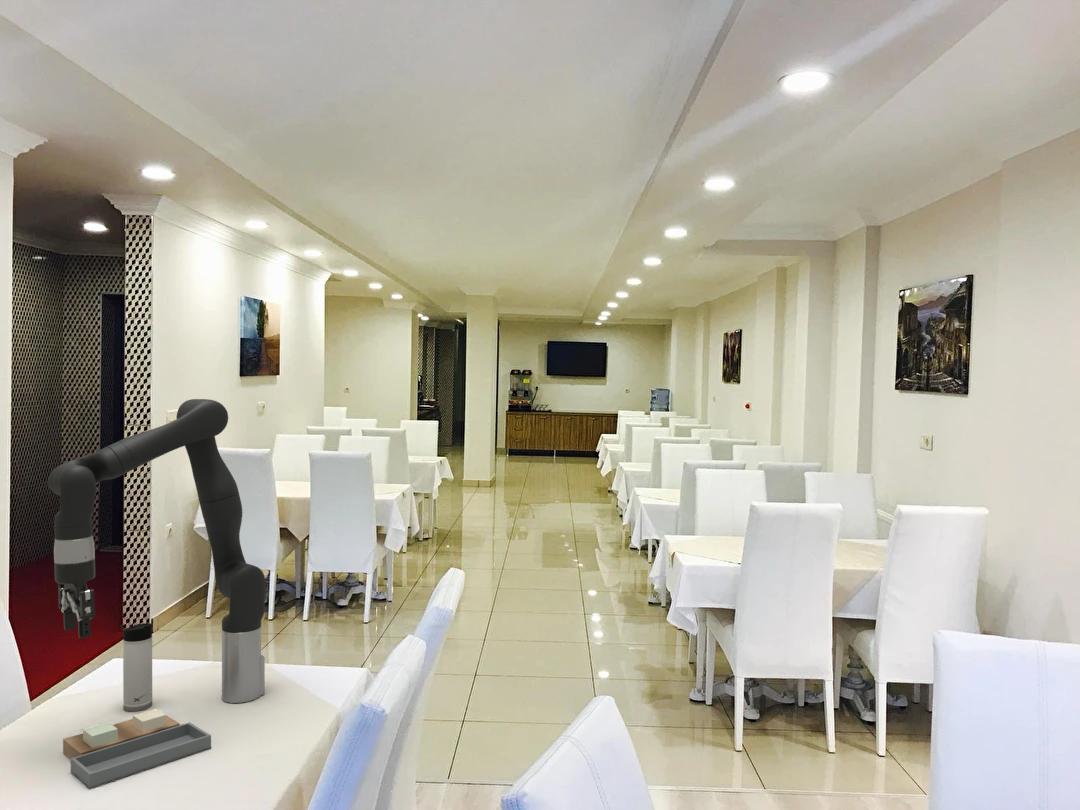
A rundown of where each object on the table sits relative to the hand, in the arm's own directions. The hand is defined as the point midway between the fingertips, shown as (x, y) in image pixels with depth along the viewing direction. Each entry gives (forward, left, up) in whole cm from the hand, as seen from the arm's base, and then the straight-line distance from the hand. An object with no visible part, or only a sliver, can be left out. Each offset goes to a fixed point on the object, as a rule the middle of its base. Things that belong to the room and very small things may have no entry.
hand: (77, 633), depth 174 cm
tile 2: (-12, +8, -21) cm, 26 cm away
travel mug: (-18, -13, -25) cm, 33 cm away
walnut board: (-7, +6, -24) cm, 26 cm away
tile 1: (-2, +8, -21) cm, 23 cm away
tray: (-7, +17, -24) cm, 30 cm away
